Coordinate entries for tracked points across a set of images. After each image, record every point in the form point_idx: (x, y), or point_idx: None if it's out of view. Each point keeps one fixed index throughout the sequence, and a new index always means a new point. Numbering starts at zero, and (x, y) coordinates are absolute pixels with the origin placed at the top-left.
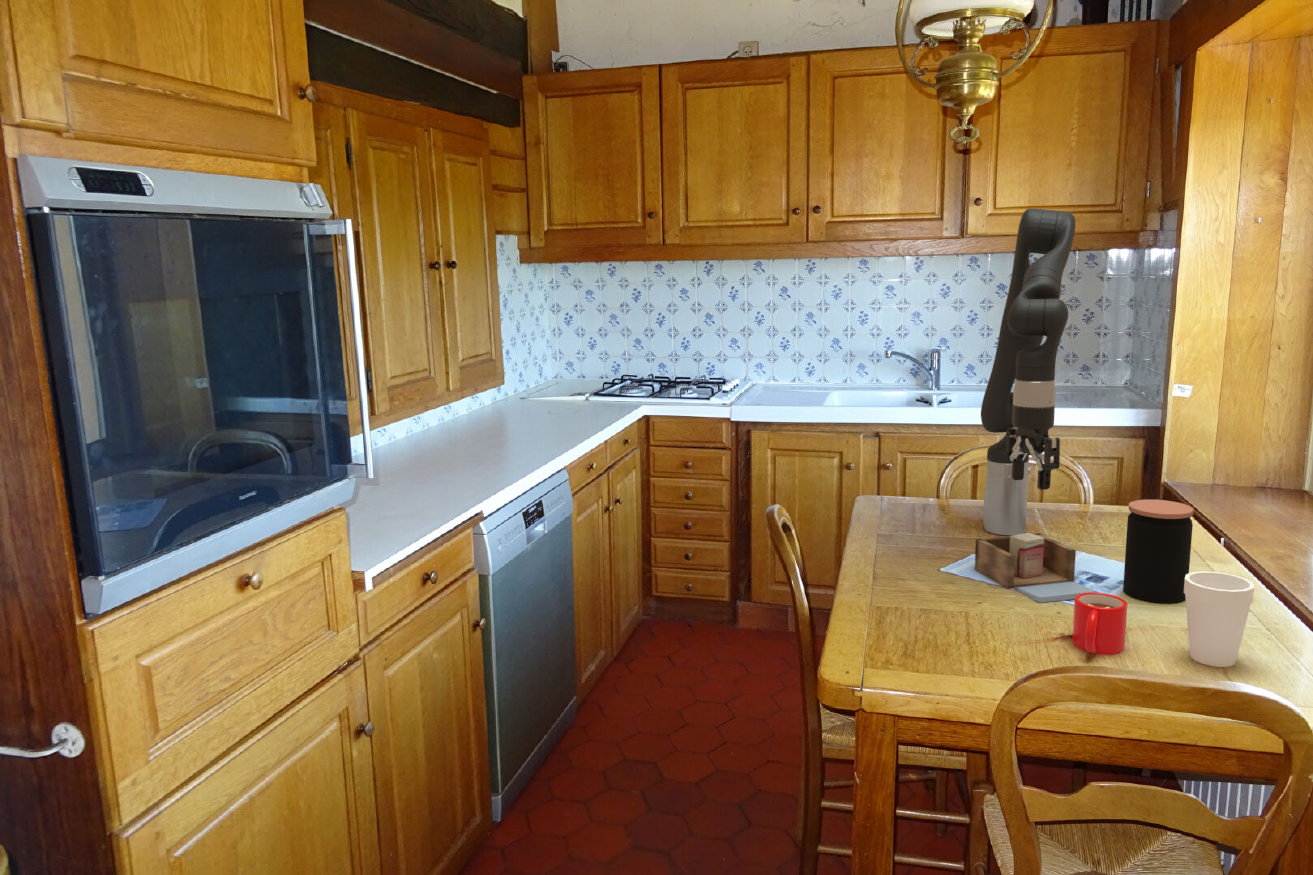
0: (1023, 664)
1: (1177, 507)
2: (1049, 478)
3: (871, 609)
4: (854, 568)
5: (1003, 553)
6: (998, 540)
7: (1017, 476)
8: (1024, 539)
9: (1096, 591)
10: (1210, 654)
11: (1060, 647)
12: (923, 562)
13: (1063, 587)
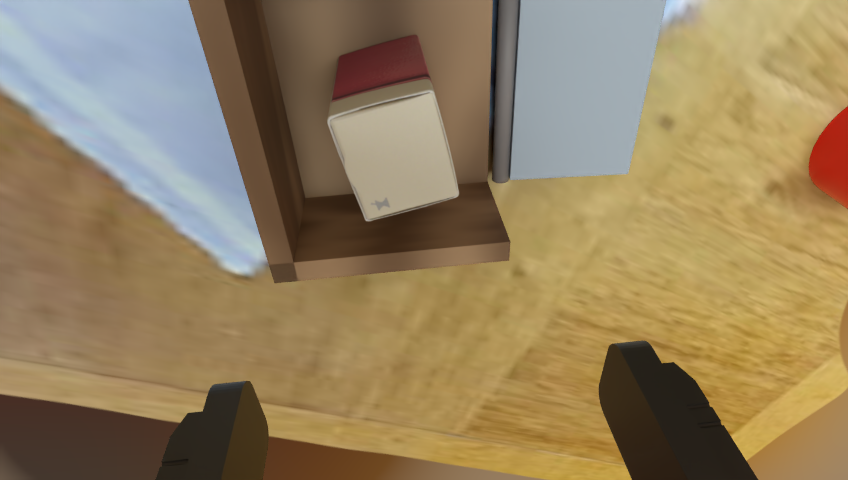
0: (819, 313)
1: None
2: (723, 439)
3: (480, 437)
4: None
5: (470, 262)
6: (279, 203)
7: (257, 441)
8: (439, 192)
9: None
10: None
11: (819, 225)
12: (166, 292)
13: (574, 40)
